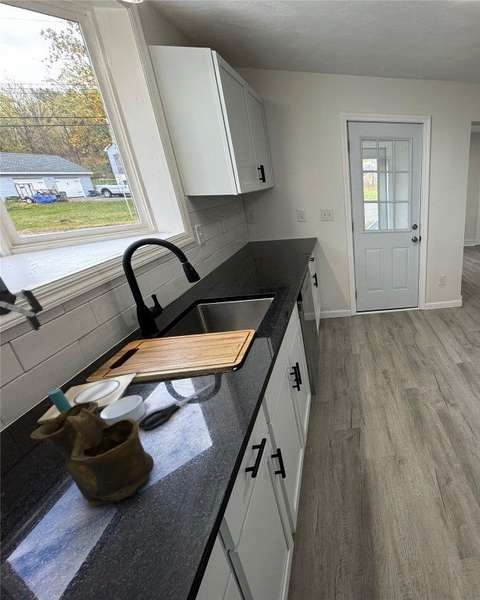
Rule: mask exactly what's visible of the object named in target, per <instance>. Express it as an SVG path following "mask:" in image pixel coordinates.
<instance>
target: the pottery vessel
mask: <svg viewBox="0 0 480 600" xmlns="http://www.w3.org/2000/svg"><path fill="white" fill-rule="evenodd" d="M139 429H140V428H139V423H138V422H137V421H135V420H133V418H126V419H122V420H120V421H118V422H115V423H114V424H106V422H105V421H104V420H103V419H102V418H101V417H100V413H99V410H98V403H97V402H93V401H88V402H83V403H79V404H76V405H74V406H73V407H72V408H70V409H69V410H67V411H64V412H62V413H61V414H59V415H58V416H57V417H56V418H55V419H53V420H51V421H48V420H47V421H46V422H45V423H43V424H41V425H39V427H38V428H37V429H36V430H33V431H32V432H31V434H30V439H32V440H36V441H38V442H40V441H41V442H42V441H46V442H48V443H49V444H50V445H51V446H53V447H54V448H55V449H56V450H57V451H58V452H59V453H60V455H62V457H63V458H64V468H65V469H66V470H67V472H68V474H69V475H70V477H71V478H72V480H73V481H74V484H75V485H76V487H77V489H78V490H79V492H80V494H81V495H82V497H83V498H84V499H85V500H86V501H87V502H88V504H89V505H90V506H91V507H96V506H99V505H102V504H106V505H107V504H112V503H114V502H115V503H116V502H117V503H120V502H121V501H122V500H123V499H125V498H127V497H129V498H131V497H133V496H135V495H136V493H137V492H139V491H140V490H141V489H142V488H143V487H144V486H146V485H147V483H148V482H149V478H150V475H151V472H152V471H153V469H154V466H155V461H154V458H153V457H152V455H151V454H150V453H149V452H146V451H145V448H144V447H143V443H142V442H141V439H140V436H139V434H140V432H139Z"/></svg>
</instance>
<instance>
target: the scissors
mask: <svg viewBox="0 0 480 600" xmlns="http://www.w3.org/2000/svg"><path fill="white" fill-rule="evenodd" d="M214 384H215V381H213V382H211V383H210V384H208V385H206V386H204V387H202V388H201V389H199V390H198V391H196V392H194V393H192V394H191V395H189V396H187V397H186V398H184V399H182V400H181V401H179V402H178V403H177V404H176V403H173V404H172V405H170V406H168V407H165V408H162V409H158V410H155V411H152V412H151V413H149V414H147V416H145V417H144V418H143V419H142V420H140V422H139V423H138V428H139V429H143V431H145V432H149V431H153V430H156V429H157V428H159V427H161V426H163V425H165V424H166V423H167V422H169V421H170V419H171V418H172V416H173V415H174V414H175V413H176V412H177V411H179V410H180V409H181V406H183V405H185V404H186V403H188V402H189V401H190V400H193V398H195V397H196V396H198V395H200V394H201V393H203V392H205V391H206V390H207V389H209V388H210V387H211V386H213V385H214ZM154 416H155V417H154ZM165 417H166V418H165ZM163 418H164V419H163ZM149 419H150V420H149ZM148 420H149V421H148ZM159 421H160V422H159Z"/></svg>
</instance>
